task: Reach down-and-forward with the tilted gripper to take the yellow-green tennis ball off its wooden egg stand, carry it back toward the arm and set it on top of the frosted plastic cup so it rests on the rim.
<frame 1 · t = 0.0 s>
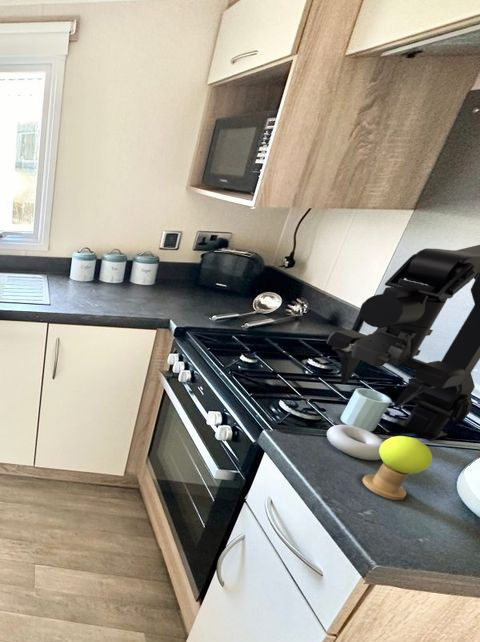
hand: (368, 394, 81), 15 cm above the countertop, tool pointing down, fingers open, 9 cm apart
cup: (357, 423, 97), on the countertop
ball: (404, 454, 75), point 8 cm above the countertop, touching wooden egg stand
donut: (352, 448, 89), on the countertop
wooden egg stand: (382, 488, 78), on the countertop
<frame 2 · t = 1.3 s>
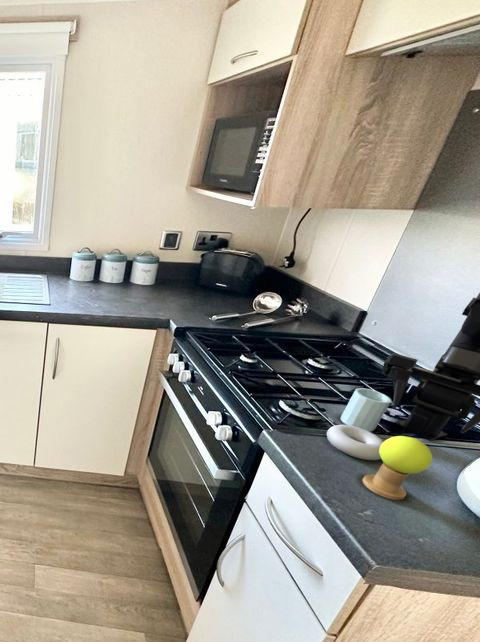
hand: (426, 419, 77), 13 cm above the countertop, tool tilted 45°, fingers open, 9 cm apart
nothing on the countertop moved.
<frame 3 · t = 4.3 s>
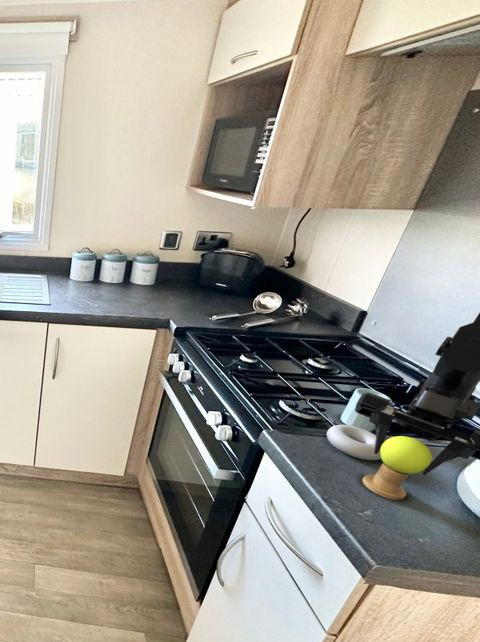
hand: (399, 463, 75), 7 cm above the countertop, tool tilted 45°, fingers closed on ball, 6 cm apart
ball: (404, 454, 75), point 8 cm above the countertop, touching wooden egg stand, gripper
everything else where it was.
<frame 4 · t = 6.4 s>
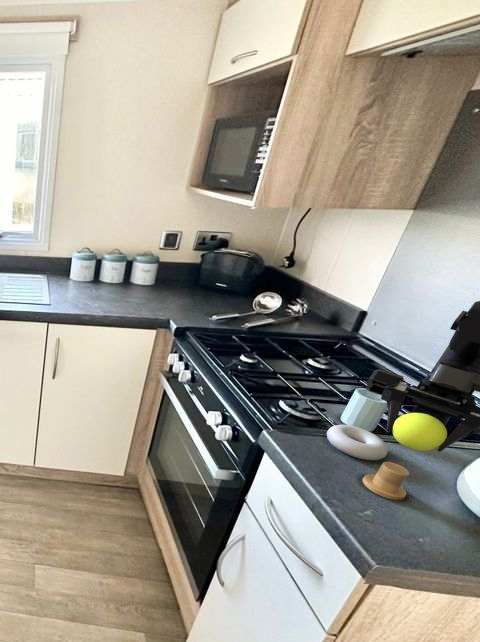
hand: (412, 440, 72), 12 cm above the countertop, tool tilted 45°, fingers closed on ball, 6 cm apart
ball: (418, 431, 73), point 13 cm above the countertop, touching gripper
everything else where it was.
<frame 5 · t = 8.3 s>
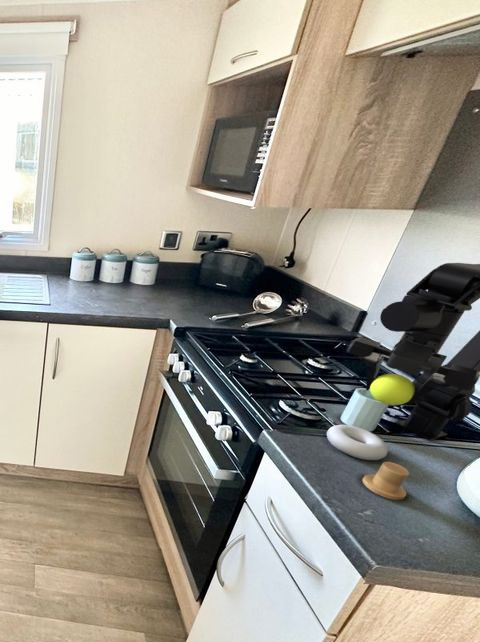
hand: (387, 397, 87), 11 cm above the countertop, tool pointing down, fingers closed on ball, 6 cm apart
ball: (392, 389, 86), point 13 cm above the countertop, tilted 43°, touching gripper
everything else where it was.
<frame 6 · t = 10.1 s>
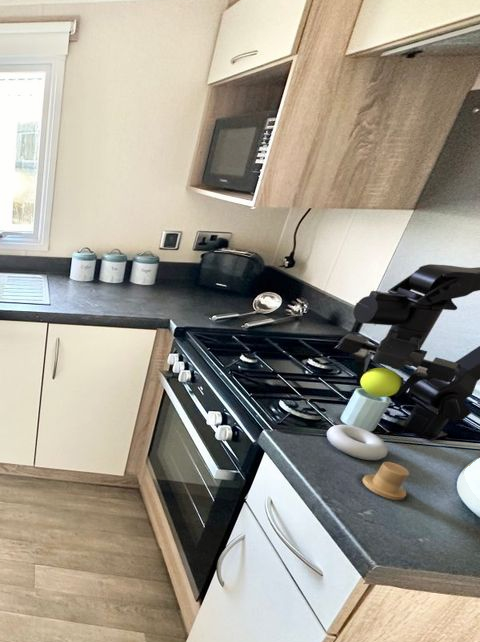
hand: (376, 389, 93), 10 cm above the countertop, tool pointing down, fingers closed on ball, 6 cm apart
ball: (380, 382, 92), point 11 cm above the countertop, tilted 45°, touching gripper
everything else where it was.
when the fingers open (8 cm above the countertop, at t = 11.1 s): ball stays where it is, resting on cup.
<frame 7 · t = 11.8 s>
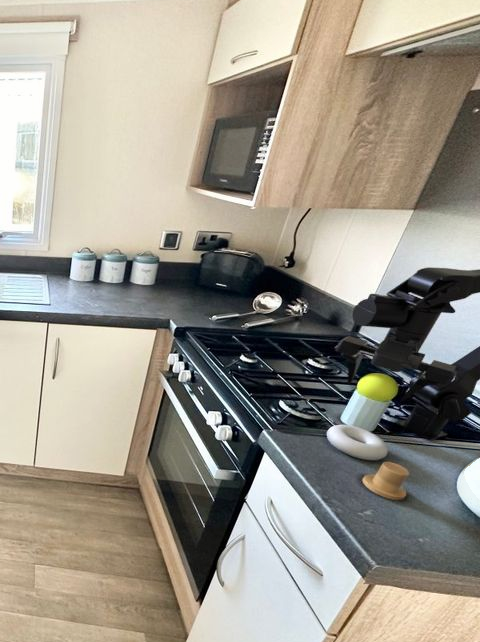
hand: (374, 391, 93), 9 cm above the countertop, tool pointing down, fingers open, 9 cm apart
cup: (357, 423, 97), on the countertop, touching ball
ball: (377, 387, 93), point 10 cm above the countertop, tilted 45°, touching cup
everything else where it was.
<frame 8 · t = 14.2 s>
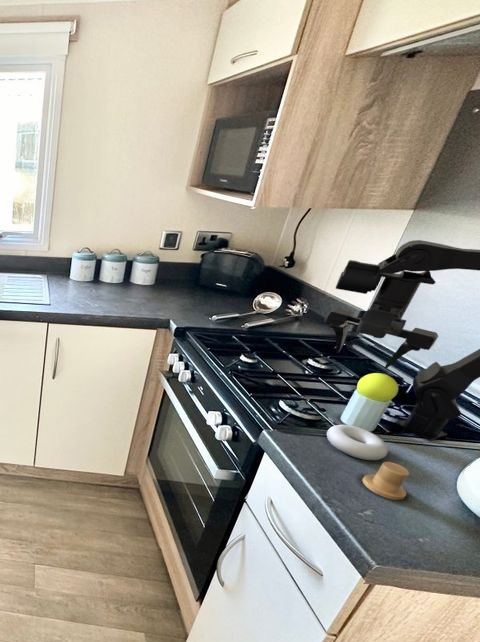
hand: (360, 360, 99), 13 cm above the countertop, tool pointing down, fingers open, 9 cm apart
nothing on the countertop moved.
at the end: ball 0.0 cm off-centre on the cup, point 10.0 cm above the cup's base; cup tilted 0°; the gripper is holding nothing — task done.
